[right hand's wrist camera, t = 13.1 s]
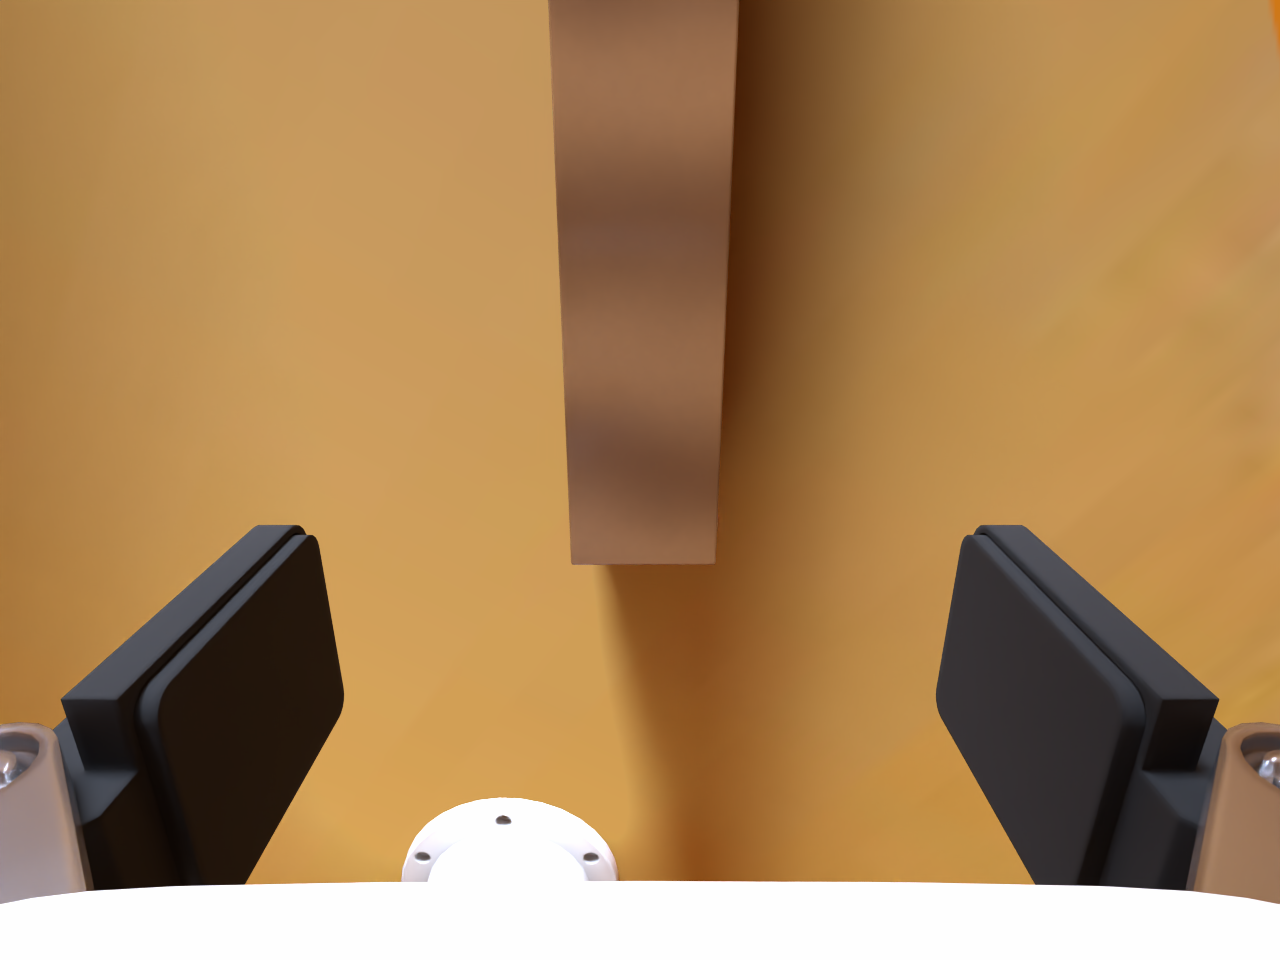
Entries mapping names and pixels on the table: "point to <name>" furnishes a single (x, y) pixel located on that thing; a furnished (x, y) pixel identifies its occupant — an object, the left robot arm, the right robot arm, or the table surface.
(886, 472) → the table surface
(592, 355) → the post
